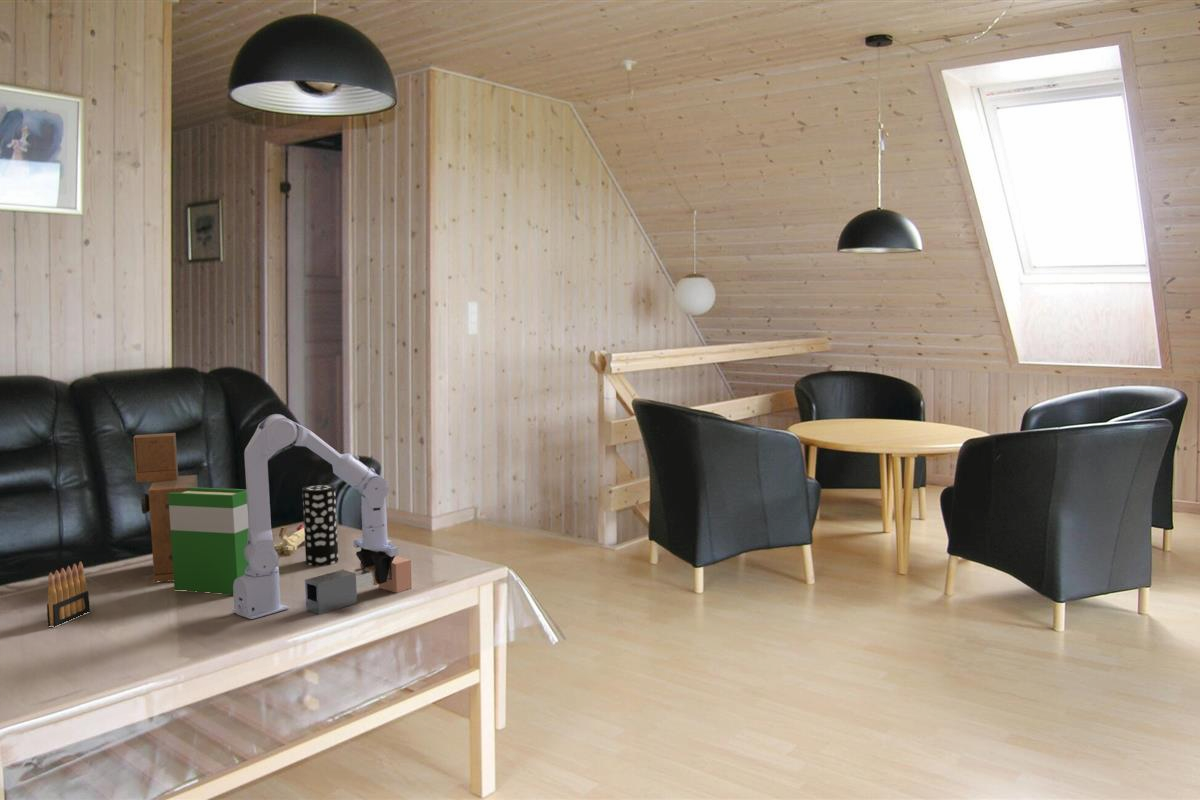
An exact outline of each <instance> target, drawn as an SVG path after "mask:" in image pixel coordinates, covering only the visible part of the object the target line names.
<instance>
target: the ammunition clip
mask: <svg viewBox="0 0 1200 800" xmlns="http://www.w3.org/2000/svg"><path fill="white" fill-rule="evenodd" d="M47 579H48V580H47V584H48V585H47V587H48V588H47V589H48V590H47V601H48V603H47V604H46V614H47V615H46V616H47V627H48V626H54V627H55V626H57V625H59V624H62V623H64V622H66V621H69V620H71V619H73V618H76V617H78V616H80V615H83V614H84V613H87V612H90V613H91V607H90V604H91V603H90V596H89V591H88V590H87V580H86V575H85V570H84V566H83V562H82V561H79V563H78V566H77V564H76V563H73V564H72V569H71V567H70V565H68V566H67V567H66V570H65V569H64V567H61V569H60V573H59V571H58V570H57V569H55V571H54V575H53V573H52V571H51V572H49V573H48V578H47Z"/></svg>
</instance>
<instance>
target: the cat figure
mask: <svg viewBox="0 0 1200 800" xmlns="http://www.w3.org/2000/svg"><path fill="white" fill-rule="evenodd" d="M303 526H304V522H303V523H301V524H299V526H297V528H296V531H295V532H294V533H292V534H291V535H290V536H287V535H286V533H287V531H288V529H287V527H286V526H282V527H280V530H279V535H278V537H279V539H280V540H282V541H283V542H282V541H281V542H280V543H279V544H275V545H274V549H275V550H276V552H277V553H278V555H280V554H281V553H282V551H283V554H284V555H285V556H290V554H291V555H292V554H293V553H294V552H296V551H297V549H298V547H299V546H301V544H302V543H305V532H304V527H303ZM279 553H280V554H279Z"/></svg>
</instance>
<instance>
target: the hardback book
mask: <svg viewBox="0 0 1200 800" xmlns="http://www.w3.org/2000/svg"><path fill="white" fill-rule="evenodd" d="M168 498H169V513H170V529H171V544H172V560H173V575H174V581H173V586H174V587H173V588H174V590H187V591H194V592H193V593H196V592H195V591H197V592H210V593H222V594H221V595H224V594H233V584H234V581H235V579H236V578H239V577H241V576H243V575H244V574H245V569H246V568H247V566H248V565H249V563H248V562H247V560H246V559H245V557H244V549H245V547H246V545H247V541H248V536H247V535H248V530H249V527H248V509H247V492H246V489H245V488H244V489H243V488H241V489H240V488H220V487H219V488H216V487H213V488H212V487H198V488H197V487H188V488H186V492H182V493H175V492H170V493H168ZM210 593H209V594H210Z"/></svg>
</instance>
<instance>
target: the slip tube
mask: <svg viewBox="0 0 1200 800" xmlns="http://www.w3.org/2000/svg"><path fill="white" fill-rule="evenodd" d="M353 573H356V590H358V589H361V588H365V587H368V586H379V584H378V582H377V576H376V569H375V565H374V566H370V567H366V568H365V570H364V569H362V570H359V571H354V572H353ZM391 577H392V573H391V566H390V569H389V573H388V578H391ZM388 578H387V582H388Z"/></svg>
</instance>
